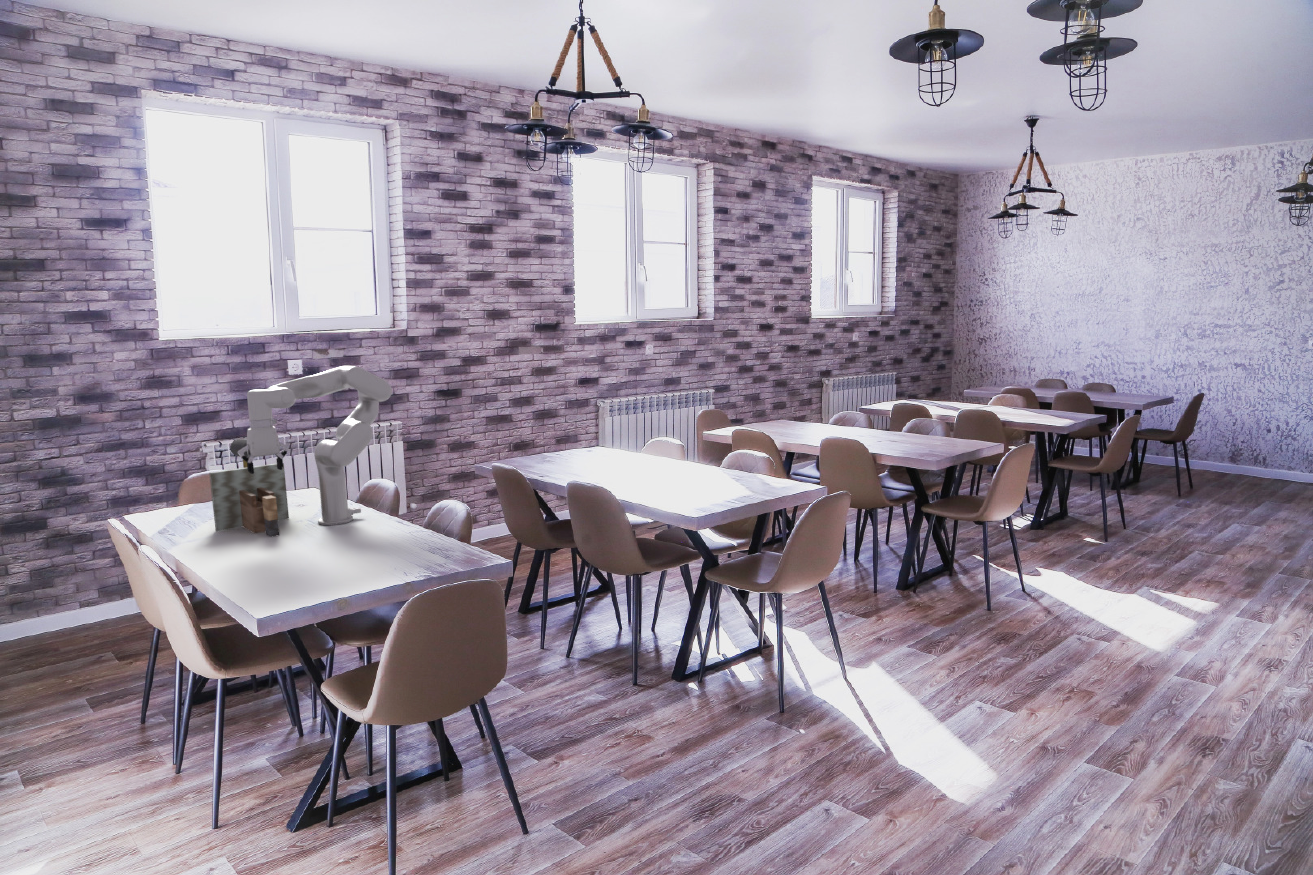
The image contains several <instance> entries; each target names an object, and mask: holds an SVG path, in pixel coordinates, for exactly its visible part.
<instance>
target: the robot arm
mask: <svg viewBox="0 0 1313 875" xmlns="http://www.w3.org/2000/svg"><path fill="white" fill-rule="evenodd" d="M346 389H354V390H356V391H357V395H358V402H357V405H356V407H355V408H354V409H353V411H352V412H351V413H350V414H349V415H348V416H347V417H346V418H344V420H343V421H342V422H341V423H340V424H339V425H338V427H337V429H336V431H335V434H336V435H335V436H336V438H337V440H335V439H323V440H322V441H319V443H317V444H316V446H315V448H314V453H313V454H314V462H315V465H316V469H317V474H318V486H319V494H320V495H319V497H320V506H321V517H320V518H319V519H317V524H319V525H323V526H336V525H343V524H347V523H349V522H352V521H353V520H354V516H353V515H354V514H355V515H356V514H360V513H362V509H361V507H356V508H355V507H353V508H351V507H349V506H348V505H349V504H348V492H347V480H346V472H345V468H344V467H347V466H349V465H351V464H352V463H353V462H354V461H355V460H356V459H357V458H358V456H359V455H360V454H361V453H363V451H364V450H365V449H366V448H367V446H369V444H370V443H371V441H372V439H373V436H374V434H373V433H374V432H373V428H372V427H371V425H372V424H373V423H374V422H375V421H376V419H377V417H378V415H379V411H380V410H379V408H380V402H385V401H387V400H389V398H391V396H392V395H393V394H392V392H393V390H392V385H391V384H390V383H389V382H388V381H387V380H385V379H383V378H382V377H380V376H378V375H375V374H374V373H372V372H370V371H368V370H366V369H364V368H362V367H360V366H356V365H342V366H338V367H334V368H331V369H328V370H326V371H323V372H322V371H321V372H319V373H316V374H313V375H312V374H311V375H307V376H304V377H300V378H296V379H291V380H288V381H284V382H281V383H278V384H275V385H272V386H269V387H268V388H266V389H264V388H258V389H251V390H248V391H247V394H246V397H247V398H246V399H247V400H246V401H247V408H248V419H249V428H247V430H246V432H247V434H246V439H247V446H245V447H244V448H242V449H241V450H239V451H238V454H239V455H240V458H241V459H242V461H243V460H244V461H246V462H247V469H248V472H249V473H251V474H254V463H253V460H255V458H258V457H266V456H272V455H273V456H274V455H275V456H276V463H277V469H279V470H282V467H283V463H284V461H283V460H284V458H285V456H286V455H287V454H288V451H289V449H290V446H289V445H288V444H285V443H283V442H280V441H279V439H280V438H279V436H278V432H277V428H276V426H275V424H278V420H277V419H275V418H273V409H288V408H291V407H292V406H294V405H295V403H296V401H297V400H302V399H315V398H321V397H326V396H328V395H331V394H333V393H337V392H340V391H343V390H346ZM280 447H281V448H283V449H282V451H281V448H280ZM245 451H247V453H248V455H249V456H248V457H246V456H245V455H244V452H245Z"/></svg>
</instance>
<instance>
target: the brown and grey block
mask: <svg viewBox="0 0 1313 875" xmlns="http://www.w3.org/2000/svg"><path fill="white" fill-rule="evenodd" d="M262 502H263V512H264V522H265V532H264V533H265V535H266V536H268V537H269V538H273V537H276V535H278V536H280V526H279V520H278V514H277V504H276V497H274V496H264V497H262ZM272 536H273V537H272Z"/></svg>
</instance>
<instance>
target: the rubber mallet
mask: <svg viewBox="0 0 1313 875" xmlns="http://www.w3.org/2000/svg"><path fill="white" fill-rule="evenodd" d="M245 446H247V438H246V439H245V438H238V439H234V440H233V441H232V442H231V443H230V447H229V450H230V452H231V454H233V455H234V456H236V457H240V455H239V454H238V451H239V450H241V449H242V448H244V447H245ZM244 455H245V456H246V457H248V456H249V455H248V453H247V451H245V452H244ZM240 458H241V457H240ZM242 466H243V467H242V468H247V462H246V461H244V460H243V459H242Z"/></svg>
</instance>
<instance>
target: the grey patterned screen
mask: <svg viewBox="0 0 1313 875" xmlns="http://www.w3.org/2000/svg"><path fill="white" fill-rule="evenodd" d="M253 467H254V474H251V473H249V472H248V469H247V468H243V467H241V468H234V469H232V468H231V469H226V470H220V471H219V470H218V471H211V472H209V483H210V491H211V492H210V493H211V502H212V510H213V519H214V521H213V522H214V527H215V528H214V529H215V531H216V532H222V531H226V530H227V531H228V530H232V529H233V530H234V529H238V528H244V529H246V530H248V531H250V532H251V531H252V532H251V533H253V534H258V533H266V532H265V522H264V512H263V502H262V497H264V496H274V497H276V504H277V514H278V521H282V520H283V519H284V520H288V519H287V518H290V514H289V505H288V504H289V503H288V494H287V485H286V482H287V481H286V475H285V474H286V472H285V463H284V462H283V467H282V470H279V469H277V462H276V463H271V464H263V465H255V466H254V465H253Z"/></svg>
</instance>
